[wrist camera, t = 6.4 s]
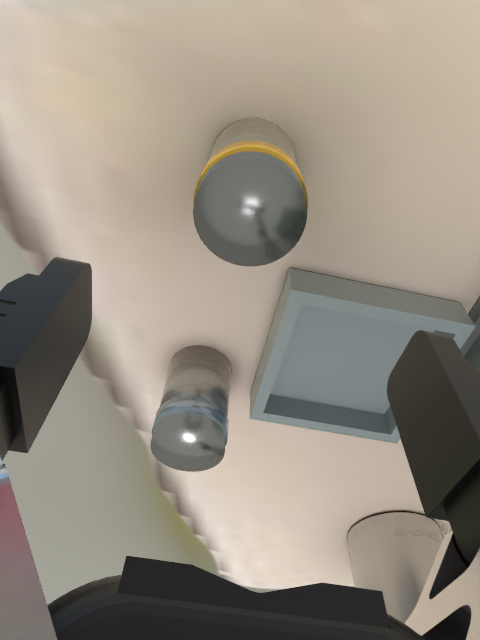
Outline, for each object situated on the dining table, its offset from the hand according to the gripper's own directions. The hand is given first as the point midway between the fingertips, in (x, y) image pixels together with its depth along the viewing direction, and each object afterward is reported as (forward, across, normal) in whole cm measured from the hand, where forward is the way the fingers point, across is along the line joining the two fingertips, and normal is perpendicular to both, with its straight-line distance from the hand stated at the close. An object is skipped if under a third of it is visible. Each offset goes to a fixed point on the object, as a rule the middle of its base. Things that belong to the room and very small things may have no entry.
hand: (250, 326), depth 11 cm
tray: (+14, -9, +11) cm, 20 cm away
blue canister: (+14, +1, +15) cm, 21 cm away
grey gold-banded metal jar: (+14, 0, 0) cm, 14 cm away
